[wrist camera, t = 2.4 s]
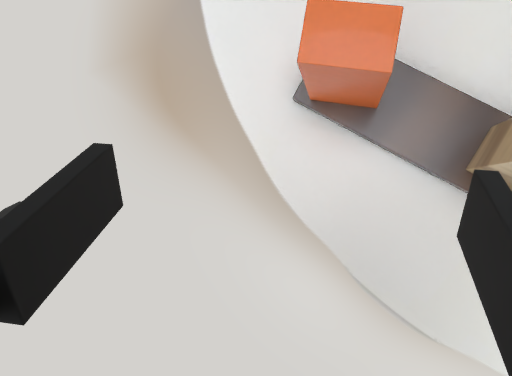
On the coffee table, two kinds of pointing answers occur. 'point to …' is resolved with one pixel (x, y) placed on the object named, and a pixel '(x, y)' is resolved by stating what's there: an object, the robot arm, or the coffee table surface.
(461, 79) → the coffee table surface
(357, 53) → the orange rectangular prism
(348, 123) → the wooden block stand
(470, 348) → the coffee table surface
